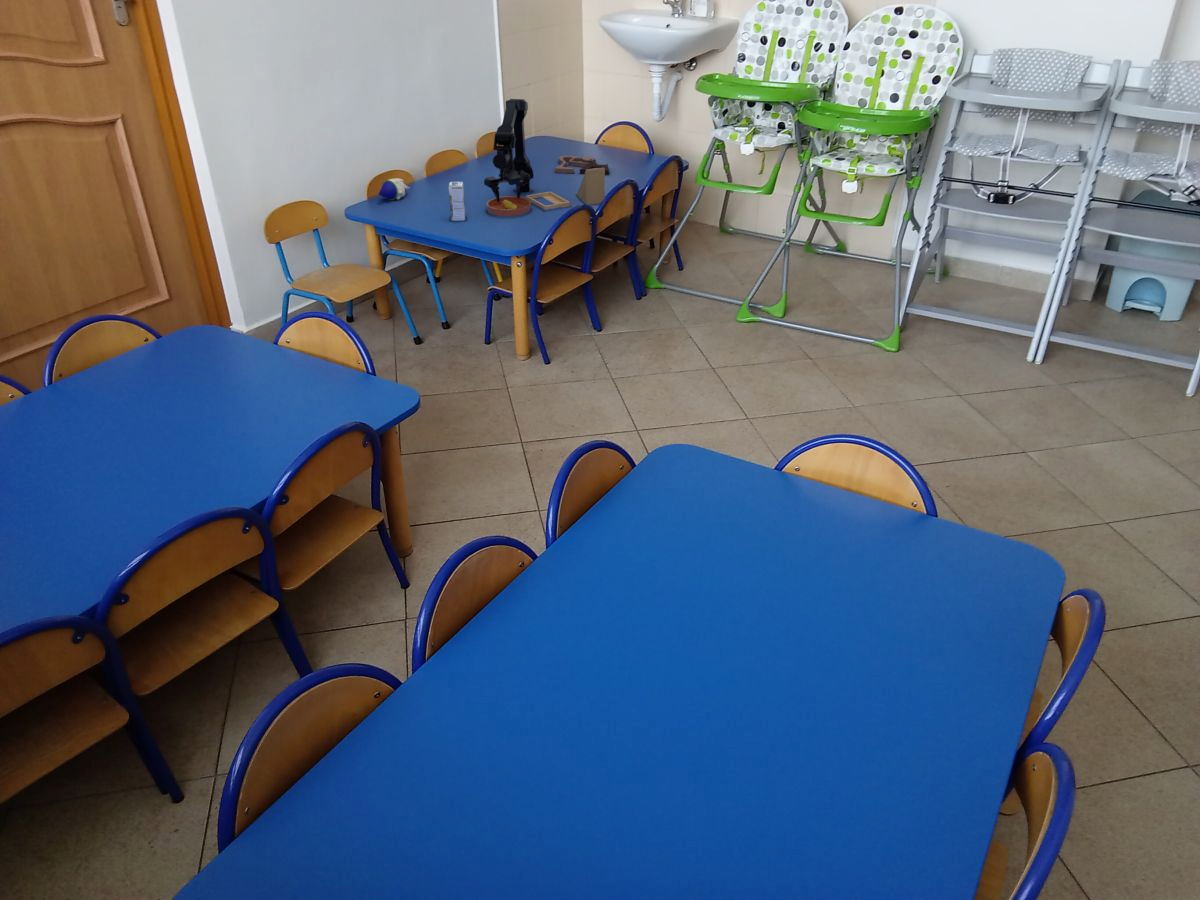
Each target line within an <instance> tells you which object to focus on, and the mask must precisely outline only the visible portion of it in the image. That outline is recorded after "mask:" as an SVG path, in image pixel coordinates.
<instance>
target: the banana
mask: <svg viewBox="0 0 1200 900" xmlns="http://www.w3.org/2000/svg"><path fill="white" fill-rule="evenodd" d="M503 205H504V207H505V208H507V209H517V208H518V207H517V206H516V205H514V204H513V203H512V202H510V201H508V200H504V201H503Z"/></svg>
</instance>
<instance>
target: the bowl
mask: <svg viewBox="0 0 1200 900" xmlns="http://www.w3.org/2000/svg"><path fill="white" fill-rule="evenodd" d="M499 198H500V202H498V201H497V199H496V197H495V198H491V199H489V200H488V201H487V202H486V211H487V213H489V214H490V215H494V216H499V217H514V216H515V217H516V216H521V215H525V214H527V213H529V212H530V211H531V210H532V202H530V200H528V199H526V197H522V196H520V198H519V199H518V198H517V196H509V195H508V196H499ZM504 200H508V201H510V202H512V203H513V204H514V205H516V206H517V207H518V208H517V209H507V208H505V207H504V205H503V201H504Z"/></svg>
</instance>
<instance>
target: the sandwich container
mask: <svg viewBox="0 0 1200 900" xmlns="http://www.w3.org/2000/svg"><path fill="white" fill-rule="evenodd" d="M605 183H606V175H605V168H594V169H587V170H586V171H585V174H583V178H582V180H581V183H580V186H579V188H578V190H577V193H576V196H577V197H578V198H579V200H581V201H582V202H583V203H584V204H585V205H586V204H589V205H595V204H596V205H597V204H602V203H601V202H602V200H603V199H604V200H605V195H606V194H605V189H606V187H605V186H606V185H605Z"/></svg>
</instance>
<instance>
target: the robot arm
mask: <svg viewBox="0 0 1200 900" xmlns="http://www.w3.org/2000/svg"><path fill="white" fill-rule="evenodd" d="M528 110H529V103H528V102H527V101H526V100H525V99H524V98H509V99H508V100H505V111H504V115H503V118H502V123H501V125H500V126H498V127H497V129H496V131H495V133H494V140H493V151H496V154H495V155H494V157H492V158H493V159H492V164H493V166H494V167H495V168H496V169H497V170H499V173H498V178H496V177H495V176H487V177H485V178H484V179H483V184H484V185H485V186H486V187H488V188H490V189H491V191H492V193H493V195H494V197H495V198H496V199H497V201H498V202H500V198H499V197H500V191H499V190H500V186H499V184H503V183H508V185H509V186H514V185H515V188H514V189H513V191H514V192H515V193H516V197H517V198H518V199H519V198H520V197H521V195H522V194H523V193H524V194H525V193H529V192H534V190H532V189H531V187H530V186H531V185H530V184H531V183H530V182H531V180H532V179H534V170H533V167H532V165H531V161H530V159H529V157H528V155H527V154H526V153H527V152H526V137H525V123H524V122H525V118H526V116H527V114H528ZM513 151H514V152H513Z"/></svg>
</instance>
